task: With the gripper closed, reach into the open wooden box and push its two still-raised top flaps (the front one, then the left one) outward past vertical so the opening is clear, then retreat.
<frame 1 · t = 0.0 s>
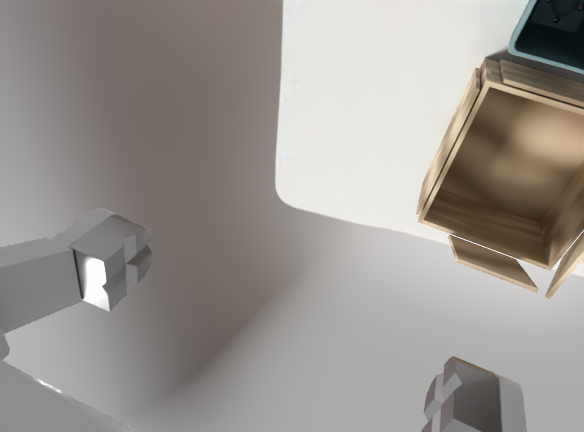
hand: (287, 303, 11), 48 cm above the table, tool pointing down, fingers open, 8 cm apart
open wooden box: (514, 147, 52), on the table
flower pot: (564, 3, 43), on the table
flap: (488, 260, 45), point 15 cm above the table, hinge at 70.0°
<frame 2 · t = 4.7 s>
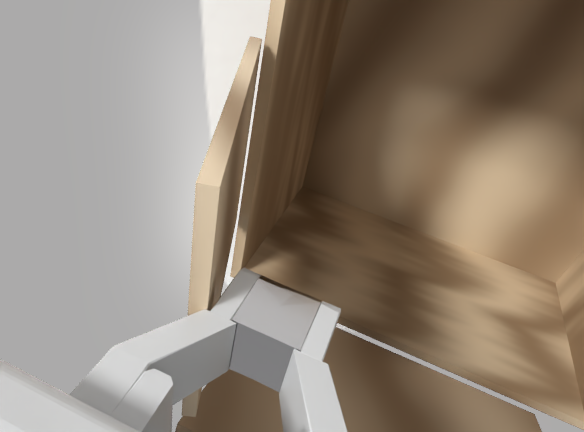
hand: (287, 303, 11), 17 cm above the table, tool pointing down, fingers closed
open wooden box: (474, 125, 23), on the table
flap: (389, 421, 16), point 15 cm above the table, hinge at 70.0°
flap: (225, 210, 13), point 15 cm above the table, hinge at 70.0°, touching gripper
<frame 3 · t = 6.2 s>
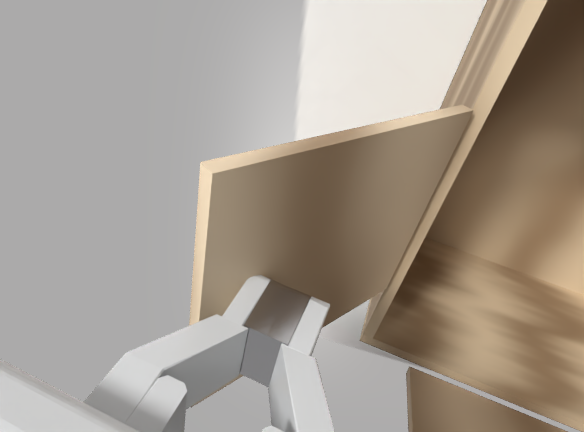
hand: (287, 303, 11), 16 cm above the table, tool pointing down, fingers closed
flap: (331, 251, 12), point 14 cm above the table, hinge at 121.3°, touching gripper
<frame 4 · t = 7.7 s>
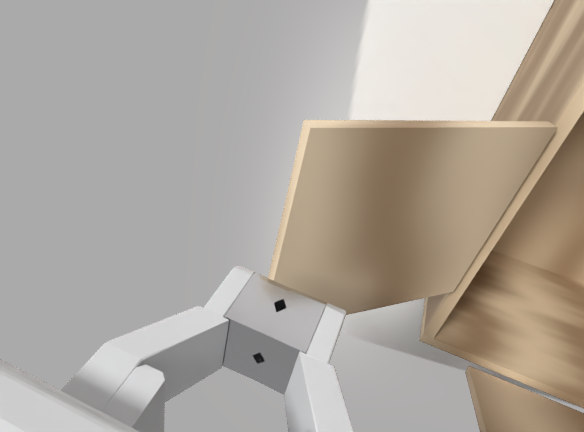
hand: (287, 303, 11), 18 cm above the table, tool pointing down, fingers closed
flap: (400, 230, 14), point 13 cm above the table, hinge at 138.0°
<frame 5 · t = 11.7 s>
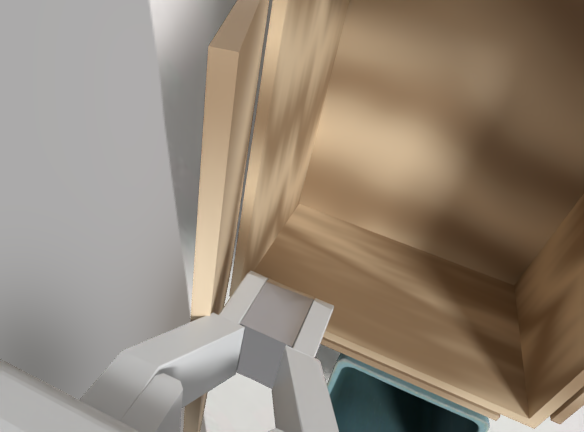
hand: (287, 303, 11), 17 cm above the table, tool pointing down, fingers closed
open wooden box: (455, 125, 23), on the table
flower pot: (406, 321, 32), on the table
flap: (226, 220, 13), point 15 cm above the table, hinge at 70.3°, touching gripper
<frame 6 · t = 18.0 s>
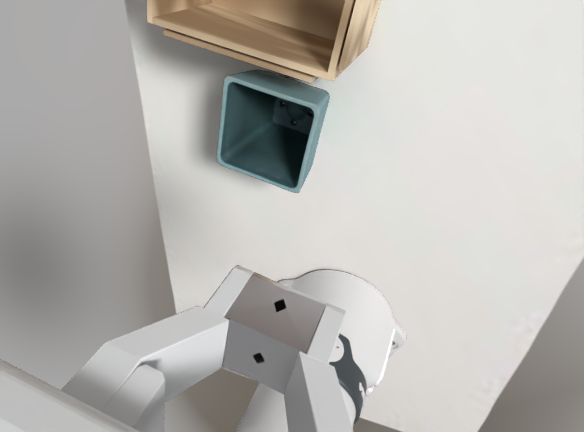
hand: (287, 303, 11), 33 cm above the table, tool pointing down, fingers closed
flower pot: (298, 105, 44), on the table
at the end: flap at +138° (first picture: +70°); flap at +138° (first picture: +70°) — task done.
